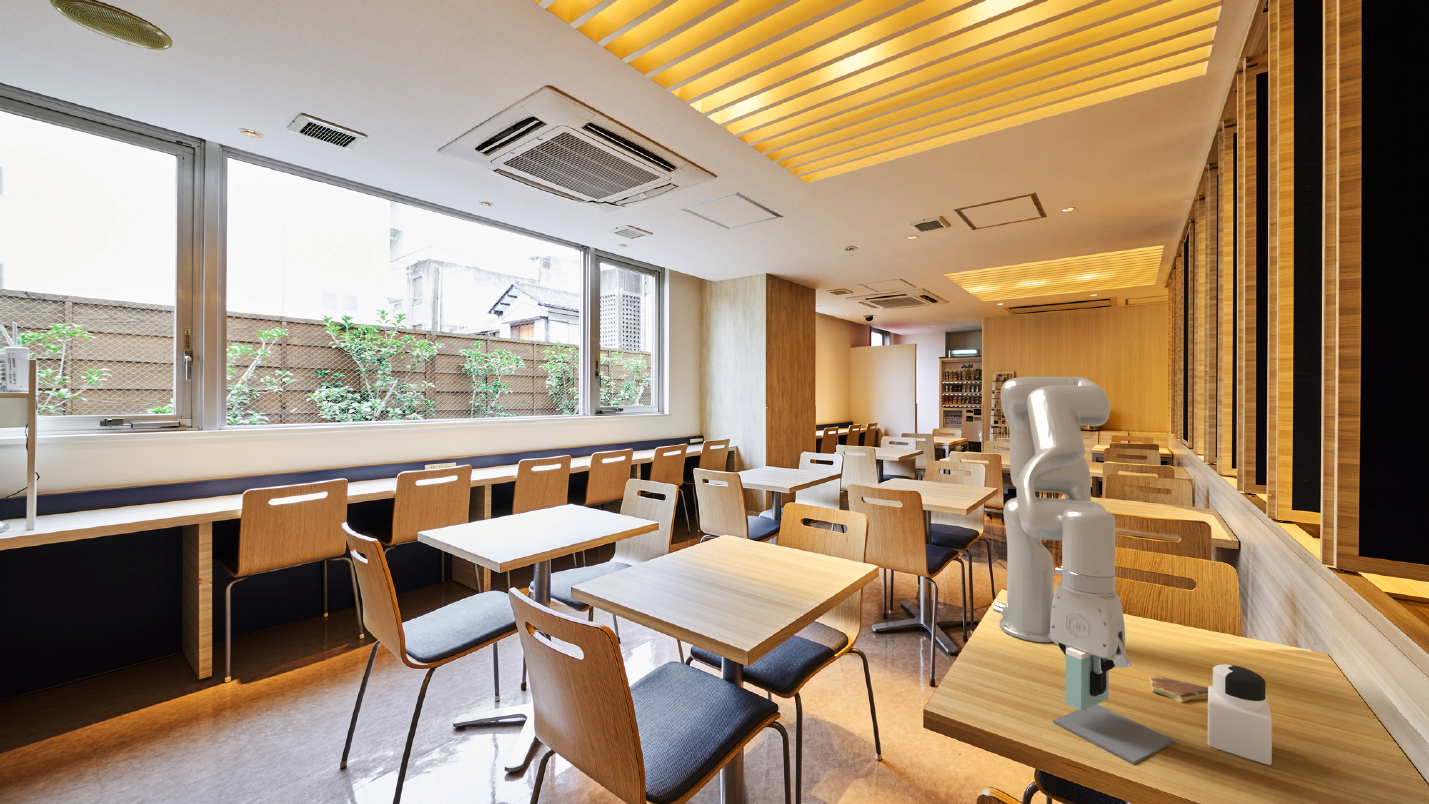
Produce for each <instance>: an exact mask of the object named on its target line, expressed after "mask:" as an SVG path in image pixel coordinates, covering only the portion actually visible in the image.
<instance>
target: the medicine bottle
mask: <svg viewBox="0 0 1429 804" xmlns="http://www.w3.org/2000/svg"><path fill="white" fill-rule="evenodd" d="M1207 687H1208V699H1207V746H1208V747H1210V748H1213V749H1215V750H1216V749H1217V750H1219V751H1223V752H1225V753H1228V754H1231V755H1235V756H1238V757H1241V758H1244V759H1248V760H1250V761H1254V762H1257V763H1260V764H1263V765H1267V766H1271V765H1272V763H1273V762H1272V761H1273V760H1272V757H1273V756H1272V754H1273V751H1272V750H1273V745H1272V744H1273V718H1272V714H1271V709H1270V703H1269V701H1268V700H1266V690H1267V689H1266V687H1267V686H1266V680H1265V679H1264V678H1263V676H1262V675H1260V674H1259V673H1257V672H1255V671H1254V670H1253V671H1252V670H1251V669H1248V668H1246V667H1244V666H1243V667H1242V666H1239V665H1235V664H1217V665H1215V666H1213V668H1212V685H1209V686H1207Z"/></svg>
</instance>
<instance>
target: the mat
mask: <svg viewBox="0 0 1429 804" xmlns="http://www.w3.org/2000/svg"><path fill="white" fill-rule="evenodd" d="M1052 722H1053V724H1055V725H1057V726H1059V727H1061V728H1063V729H1064V730H1067V731H1069V732H1071V733H1072V734H1073V735H1076V736H1079V738H1082V739H1084V740H1086V741H1088V742H1089V743H1092V744H1094V745H1095V746H1097V747H1099V748H1101V749H1103V750H1105V751H1107V752H1109V753H1111V754H1112V755H1114V756H1116V757H1118V758H1120V759H1122V760H1124V761H1126V762H1127V763H1130V764H1132V765H1135V764H1137V763H1139V762H1141V761H1143V760H1144V759H1146V758H1149V757H1150V756H1153V754H1156V753H1157V752H1159V751H1161V750H1163V749H1165V748H1167V747H1168V746H1170V745H1172V744H1174V743H1175V739H1173V738H1172V737H1169V736H1167V735H1165V734H1162V733H1161V732H1158V731H1156V730H1154V729H1152V728H1150V727H1148V726H1145V725H1143V724H1141V723H1139V722H1136V721H1135V720H1132V719H1130V718H1127V717H1126V716H1123V715H1121V714H1119V713H1117V712H1116V711H1113V710H1111V709H1108V708H1106V707H1104V706H1102V705H1099V703H1098V704H1096V705H1093V706H1091V707H1089V708H1086V709H1084V710H1079V709H1076V710H1074V711H1072V712H1070V713H1067V714H1065V715H1062V716H1059V717H1057V718H1056V719H1053V721H1052Z"/></svg>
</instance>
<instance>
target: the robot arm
mask: <svg viewBox="0 0 1429 804" xmlns="http://www.w3.org/2000/svg"><path fill="white" fill-rule="evenodd" d="M1109 399H1110V398H1109V396H1108V395H1107V393H1106V391H1105V390H1104V389H1103V388H1102V386H1100V385H1099V384H1097V383H1095V382H1094V381H1091V380H1090V379H1088V378H1085V377H1080V376H1019V377H1015V378H1014V377H1013V378H1010V379H1008V380H1006V381H1005V382H1004V383H1003V384H1002V385H1001V389H1000V404H1001V405H1000V406H1001V409H1002V412H1003V413H1002V414H1003V415H1004V418H1005V421H1006V424H1007V426H1008V430H1009V464H1010V465H1009V467H1010V468H1009V469H1010V472H1009V473H1010V479H1011V480H1010V481H1011V483H1012V485H1013V487H1015V488H1016V497H1014V498H1013V497H1012V498H1010V499H1008V500H1007V501H1006V502H1005V504H1004V506H1003V519H1004V526H1005V533H1006V534H1005V535H1006V545H1007V546H1006V547H1007V549H1006V550H1007V554H1006V555H1007V556H1006V557H1007V559H1006V560H1007V566H1006V568H1007V573H1006V574H1007V575H1006V577H1007V578H1006V579H1007V581H1006V584H1007V585H1006V586H1007V587H1006V604H1005V603H1003V602H1002V601H1001V602H1000V601H996V602H995V603H994V606H993V609H992V610H993V611H994V612H995V613H998V614H1001V615H1002V618H1001V619H1000V620H999V628H1000V629H1001V630H1002V631H1003V632H1004V633H1007V634H1008V635H1010V636H1013V637H1015V638H1017V639H1020V640H1025V641H1031V642H1035V643H1036V642H1037V643H1052V642H1053V643H1054V644H1056V645H1057V646H1058V647H1059V649H1060V650H1061V652H1062V653H1063V654H1064V655H1065V657H1064V658H1065V659H1066V649H1067V648H1070V647H1072V648H1075V649H1078V650H1080V651H1083V652H1085V653H1088V654H1090V655H1093V671H1091V672H1090V694H1091V695H1092V696H1094V697H1095V696H1098V695H1100V694H1103V693H1104V692H1105V691H1106V672H1107V671H1109V672H1110V671H1111V670H1113V669H1119V668H1120V669H1121V668H1128V667H1130V666H1131V665H1132V662H1131V659H1130V657H1129V655H1128V653H1127V651H1126V626H1125V618H1124V612H1123V611H1124V610H1123V607H1122V603H1121V598H1120V596H1119V594H1117V593H1116V518H1115V516H1114V515H1113V513H1111V512H1110V511H1107V510H1106V508H1105V507H1104V506H1103V505H1102V504H1100V503H1098V502H1094V501H1091V500H1092V495H1091V494H1092V493H1091V471H1090V467H1089V464H1088V462H1087V460H1086V459H1085V453H1086V448H1085V447H1086V446H1085V443H1084V439H1083V435H1082V431H1081V427H1100V426H1103V425H1104V424H1106V423H1107V421H1108V420H1109V418H1110V414H1111V402H1110V400H1109ZM1036 492H1038V493H1039V492H1040V493H1041V492H1042V493H1056V494H1057V493H1058V494H1059V493H1060V494H1062V495H1064V498H1055V497H1054V498H1052V497H1041V496H1040V497H1037V496H1036ZM1043 540H1044V541H1045V540H1047V541H1059V542H1060V541H1061V542H1062V543H1061V544H1062V545H1061V548H1062V549H1061V554H1062V557H1061V558H1062V559H1061V563H1062V564H1061V566H1056V567H1055V562H1054V558H1053V556H1052V553H1051V552H1050V551H1049V550H1048V548H1047V547H1046V546H1044V544H1043V543H1042V541H1043ZM1055 575H1058V576H1060V581H1061V582H1058V583H1056V586H1055V584H1054V583H1055V582H1054V579H1055V577H1054V576H1055ZM1054 587H1055V588H1054ZM1054 589H1055V590H1054ZM1114 657H1115V658H1114Z"/></svg>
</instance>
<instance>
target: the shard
mask: <svg viewBox="0 0 1429 804" xmlns="http://www.w3.org/2000/svg"><path fill="white" fill-rule="evenodd" d="M1149 681H1150V685H1151V692H1152V693H1154V694H1159V695H1162V696H1164V697H1168V698H1169V699H1170V698H1171V699H1172V700H1174V701H1176V702H1179V703H1182V704H1183V703H1186V702H1188V701H1193V700H1194V701H1196V700H1205V699H1206V700H1208V687H1209V686H1207V687H1206V686H1202V685H1198V684H1195V683H1191V682H1186V681H1182V680H1179V679H1173V678H1168V677H1164V676H1158V675H1150V676H1149Z"/></svg>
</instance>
